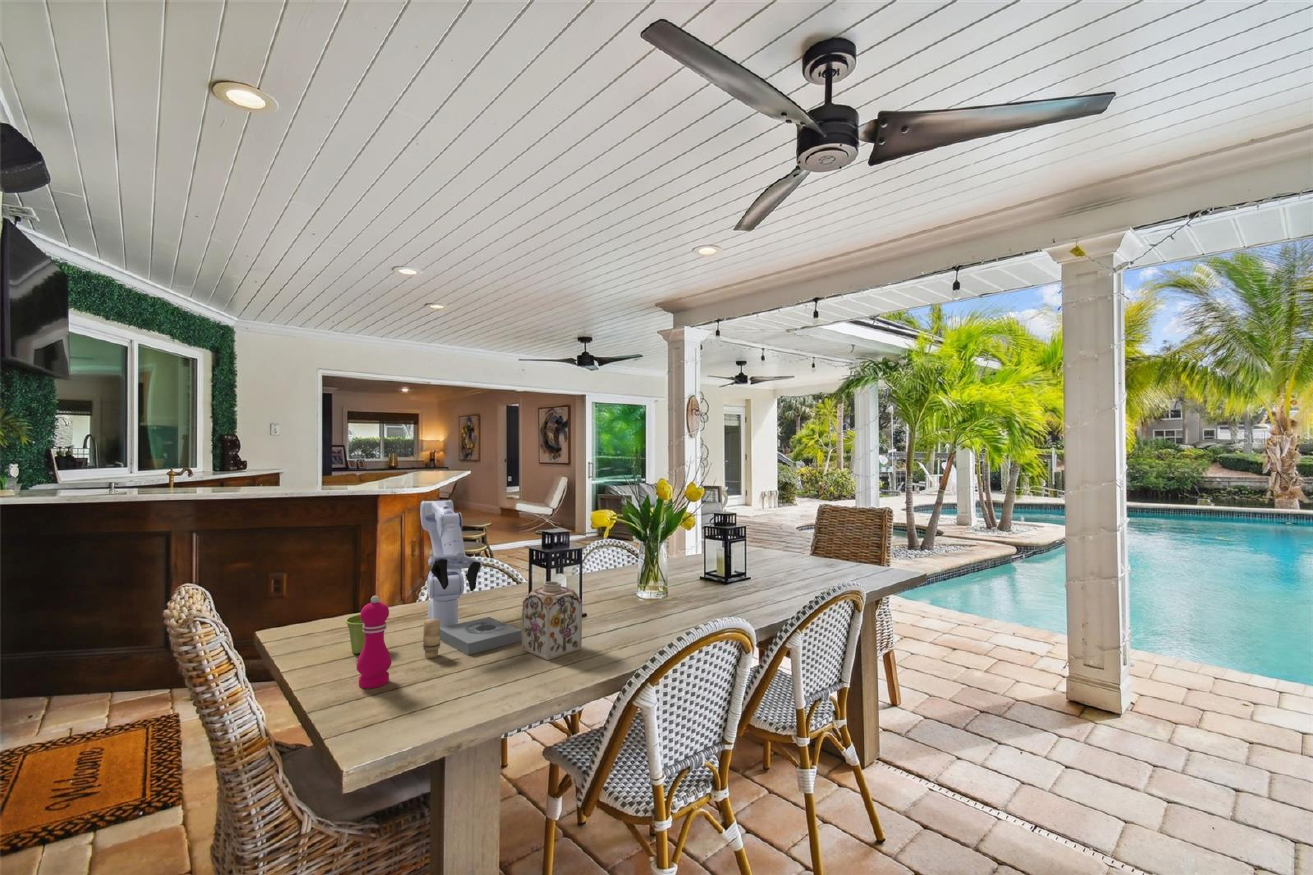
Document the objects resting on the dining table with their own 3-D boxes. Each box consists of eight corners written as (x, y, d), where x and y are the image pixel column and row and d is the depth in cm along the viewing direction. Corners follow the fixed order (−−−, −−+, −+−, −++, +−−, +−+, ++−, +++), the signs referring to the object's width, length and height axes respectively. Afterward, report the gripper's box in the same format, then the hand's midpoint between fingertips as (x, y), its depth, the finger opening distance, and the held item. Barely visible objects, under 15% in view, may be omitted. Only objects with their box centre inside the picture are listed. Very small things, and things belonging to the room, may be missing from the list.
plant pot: (390, 650, 157) (390, 617, 157) (353, 659, 150) (353, 625, 150) (376, 642, 163) (376, 610, 163) (339, 650, 156) (340, 618, 156)
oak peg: (420, 655, 153) (420, 621, 153) (435, 652, 156) (436, 617, 156) (427, 660, 150) (427, 624, 150) (442, 656, 153) (443, 621, 153)
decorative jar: (520, 650, 157) (521, 582, 158) (555, 640, 166) (556, 576, 166) (547, 661, 149) (548, 590, 150) (583, 650, 158) (583, 582, 158)
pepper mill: (356, 692, 130) (357, 601, 131) (356, 680, 137) (357, 593, 137) (392, 686, 134) (393, 597, 134) (390, 674, 140) (391, 590, 140)
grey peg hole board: (437, 638, 166) (437, 628, 166) (489, 626, 178) (489, 616, 178) (467, 655, 154) (467, 643, 154) (521, 641, 165) (521, 630, 165)
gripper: (433, 535, 160) (439, 576, 150) (483, 541, 169) (491, 580, 159) (423, 552, 162) (428, 593, 153) (473, 557, 171) (480, 596, 162)
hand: (459, 588), depth 157 cm, fingers open, 7 cm apart
